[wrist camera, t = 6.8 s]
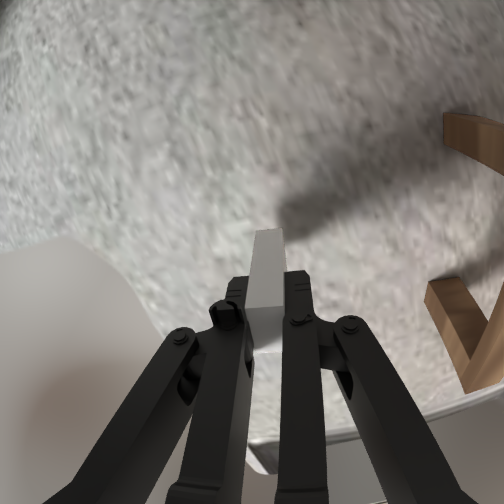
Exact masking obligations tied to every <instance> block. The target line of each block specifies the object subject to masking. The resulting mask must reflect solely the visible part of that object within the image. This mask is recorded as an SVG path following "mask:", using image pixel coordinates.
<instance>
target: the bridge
mask: <svg viewBox="0 0 504 504" xmlns="http://www.w3.org/2000/svg"><path fill="white" fill-rule="evenodd" d="M443 123H444V144H445V145H447V146H449V147H451V148H453V149H455V150H457V151H459V152H461V153H463V154H465V155H467V156H469V157H471V158H473V159H475V160H477V161H478V162H480V163H482V164H484V165H486V166H488V167H489V168H491V169H493V170H495V171H496V172H498V173H500V174H501V175H503V176H504V124H502V123H499V122H496V121H493V120H490V119H486V118H483V117H480V116H473V115H463V114H452V113H443ZM424 303H425V305H426V307H427V309H428V311H429V313H430V315H431V317H432V319H433V321H434V323H435V325H436V327H437V329H438V331H439V333H440V336H441V338H442V340H443V342H444V344H445V347H446V349H447V351H448V353H449V356H450V358H451V360H452V363H453V365H454V367H455V370H456V372H457V375H458V377H459V380H460V382H461V385H462V387H463V390H464V393H465V394H468V393H471V392H474V391H477V390H480V389H483V388H486V387H489V386H491V385H494V384H497V383H499V382H500V381H501V379H502V378H503V376H504V282H503V285H502V288H501V291H500V294H499V296H498V299H497V302H496V304H495V307H494V309H493V312H492V314H491V317H490V319H489V322H488V320H487V319H486V317H485V316H484V314H483V312H482V311H481V309H480V308H479V306H478V304H477V303H476V301H475V300H474V298H473V297H472V295H471V294H470V292H469V291H468V289H467V288H466V286H465V285H464V284H463V282H462V281H461V279H460V278H459V277H457V278H450V279H444V280H437V281H431V282H428V286H427V290H426V295H425V299H424Z"/></svg>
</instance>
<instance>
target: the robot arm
mask: <svg viewBox="0 0 504 504" xmlns="http://www.w3.org/2000/svg"><path fill="white" fill-rule="evenodd" d="M209 313H210V316H211V319H212V322H213V327H212V328H210V329H208V330H205V331H202V332H198V333H195V332H194V331H193V330H192V329H191V328H188V327H181V328H177V329H175V330H173V331H171V332H170V333H169V335H168V336H167V337H166V339H165V340H164V341H163V343H162V344H161V346H160V347H159V349H158V350H157V352H156V353H155V355H154V356H153V358H152V359H151V361H150V362H149V364H148V365H147V367H146V368H145V369H144V371H143V373H142V374H141V376H140V377H139V378H138V380H137V381H136V383H135V384H134V386H133V387H132V389H131V390H130V392H129V394H128V395H127V396H126V398H125V400H124V401H123V403H122V404H121V406H120V407H119V409H118V410H117V412H116V413H115V415H114V416H113V418H112V419H111V421H110V422H109V424H108V425H107V427H106V429H105V430H104V432H103V433H102V435H101V436H100V438H99V439H98V441H97V443H96V444H95V446H94V447H93V449H92V450H91V452H90V453H89V455H88V457H87V458H86V460H85V461H84V463H83V464H82V466H81V467H80V469H79V471H78V472H77V474H76V476H75V477H74V479H73V480H72V482H71V483H69V484H68V485H67V486H65V487H64V488H63V489H62V490H60V491H59V492H57V493H56V494H55V495H53V496H52V497H51V498H49V499H48V500H47V501H45V502H44V503H43V504H145V503H146V501H147V499H148V497H149V495H150V493H151V492H152V490H153V488H154V486H155V484H156V482H157V480H158V478H159V476H160V474H161V473H162V471H163V469H164V467H165V465H166V463H167V462H168V460H169V458H170V456H171V454H172V452H173V450H174V448H175V446H176V444H177V443H178V441H179V439H180V437H181V435H182V433H183V431H184V429H185V427H186V425H187V423H188V421H189V420H190V418H191V416H192V420H191V424H190V428H189V433H188V437H187V442H186V447H185V452H184V456H183V461H182V465H181V470H180V475H179V478H178V480H177V482H175V483H174V484H172V485H171V486H170V488H169V490H168V493H167V497H166V501H165V504H241V496H242V487H243V476H244V466H245V458H246V448H247V438H248V428H249V417H250V407H251V396H252V386H253V375H254V364H255V363H254V357H253V349H254V350H255V353H272V352H282V384H281V418H280V445H279V467H278V485H277V490H276V494H275V501H274V504H329V494H328V487H327V462H326V439H325V422H324V406H323V393H322V380H321V368H322V369H328V370H332V371H333V374H334V376H335V379H336V381H337V383H338V385H339V388H340V390H341V392H342V394H343V397H344V399H345V401H346V404H347V406H348V408H349V411H350V413H351V415H352V418H353V420H354V422H355V425H356V427H357V429H358V432H359V434H360V436H361V439H362V441H363V443H364V446H365V448H366V451H367V453H368V455H369V458H370V460H371V463H372V465H373V467H374V470H375V472H376V475H377V477H378V479H379V482H380V484H381V487H382V489H383V492H384V494H385V497H386V499H387V502H388V504H478V503H477V502H476V501H474V500H473V499H472V498H470V497H469V496H468V495H467V494H466V493H465V492H463V491H462V490H461V489H460V486H459V484H458V482H457V480H456V478H455V476H454V474H453V472H452V470H451V468H450V466H449V464H448V462H447V460H446V459H445V457H444V455H443V453H442V451H441V449H440V447H439V445H438V443H437V441H436V440H435V438H434V436H433V434H432V432H431V430H430V429H429V427H428V425H427V423H426V421H425V420H424V418H423V416H422V414H421V412H420V411H419V409H418V407H417V405H416V404H415V402H414V400H413V399H412V397H411V395H410V393H409V392H408V390H407V388H406V387H405V385H404V383H403V381H402V380H401V378H400V376H399V375H398V373H397V371H396V370H395V368H394V367H393V365H392V363H391V362H390V360H389V358H388V357H387V355H386V353H385V352H384V350H383V349H382V347H381V345H380V344H379V342H378V341H377V339H376V337H375V336H374V334H373V333H372V331H371V330H370V328H369V326H368V325H367V323H366V322H365V321H364V320H363V319H362V318H360V317H358V316H353V315H348V316H343V317H341V318H339V319H338V320H337V321H336V322H335V323H334V322H328V321H324V320H322V319H320V318H319V317H317V316H316V314H315V312H314V308H313V300H312V292H311V284H310V276H309V275H308V274H307V273H306V271H305V270H301V271H290V272H287V263H286V254H285V246H284V238H283V230H282V228H277V229H267V230H258V231H256V234H255V240H254V247H253V254H252V261H251V268H250V275H249V276H241V277H233V279H232V280H231V281H230V282H229V283H228V287H227V292H226V296H225V299H224V300H220V301H218V302H216V303H214V304H213V305H212V306H211V307H210V309H209ZM192 414H193V415H192Z"/></svg>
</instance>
